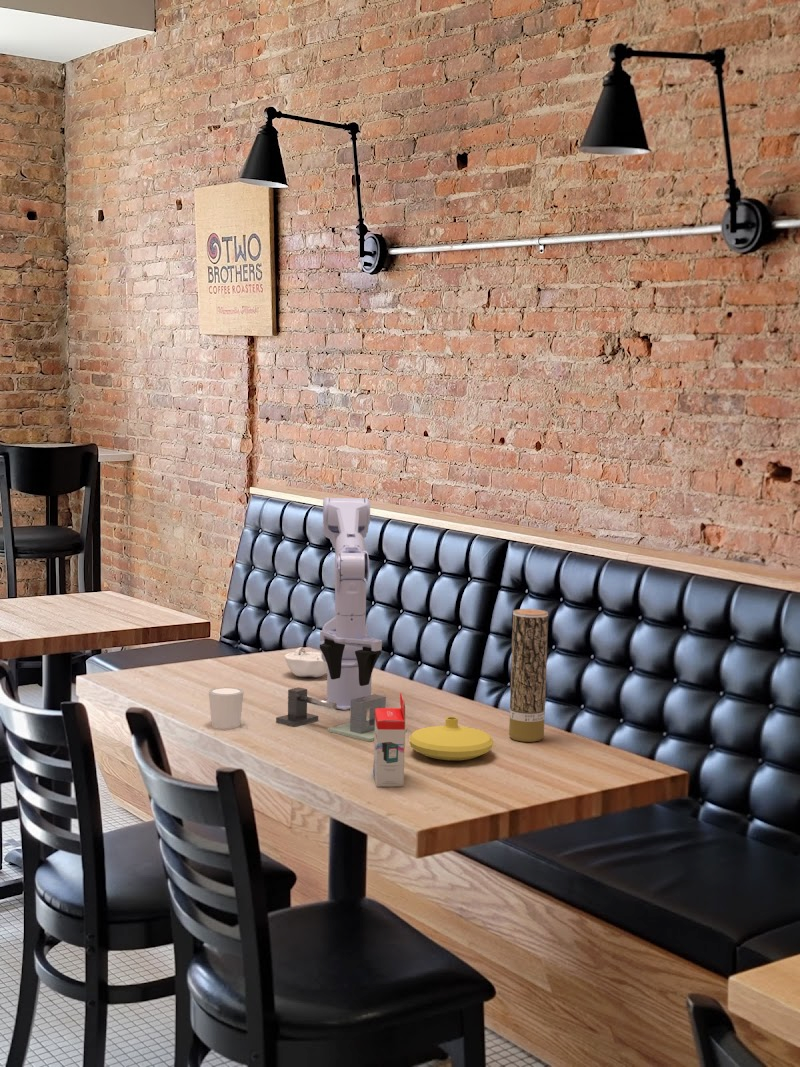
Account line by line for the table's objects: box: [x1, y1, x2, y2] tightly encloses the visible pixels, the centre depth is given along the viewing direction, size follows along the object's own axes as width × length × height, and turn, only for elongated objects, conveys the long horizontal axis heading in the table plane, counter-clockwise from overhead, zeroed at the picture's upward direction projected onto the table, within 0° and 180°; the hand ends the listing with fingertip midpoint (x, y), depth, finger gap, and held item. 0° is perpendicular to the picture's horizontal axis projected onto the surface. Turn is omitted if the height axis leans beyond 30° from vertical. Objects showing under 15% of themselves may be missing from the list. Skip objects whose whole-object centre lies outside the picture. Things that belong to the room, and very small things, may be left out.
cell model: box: [283, 646, 327, 678], centre depth 310 cm, size 10×12×7 cm
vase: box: [408, 716, 495, 761], centre depth 248 cm, size 16×16×7 cm
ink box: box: [372, 692, 406, 788], centre depth 231 cm, size 8×5×15 cm, turn 5°
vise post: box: [275, 686, 337, 728], centre depth 267 cm, size 7×13×7 cm, turn 50°
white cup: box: [208, 686, 245, 730], centre depth 265 cm, size 7×7×7 cm
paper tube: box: [508, 608, 549, 743], centre depth 260 cm, size 7×7×25 cm
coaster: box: [327, 718, 408, 743], centre depth 264 cm, size 11×11×1 cm
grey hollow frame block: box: [349, 694, 387, 734], centre depth 262 cm, size 7×3×6 cm, turn 140°
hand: (349, 681), depth 263 cm, fingers open, 7 cm apart
